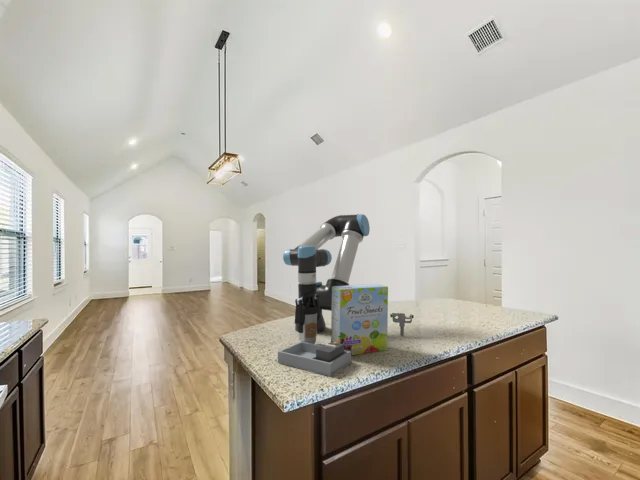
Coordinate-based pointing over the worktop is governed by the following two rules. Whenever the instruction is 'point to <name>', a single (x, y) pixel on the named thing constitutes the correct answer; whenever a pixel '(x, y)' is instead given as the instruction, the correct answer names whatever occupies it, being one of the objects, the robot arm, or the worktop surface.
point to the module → (330, 352)
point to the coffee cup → (310, 324)
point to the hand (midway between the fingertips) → (308, 337)
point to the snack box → (360, 317)
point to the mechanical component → (401, 320)
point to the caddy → (311, 359)
